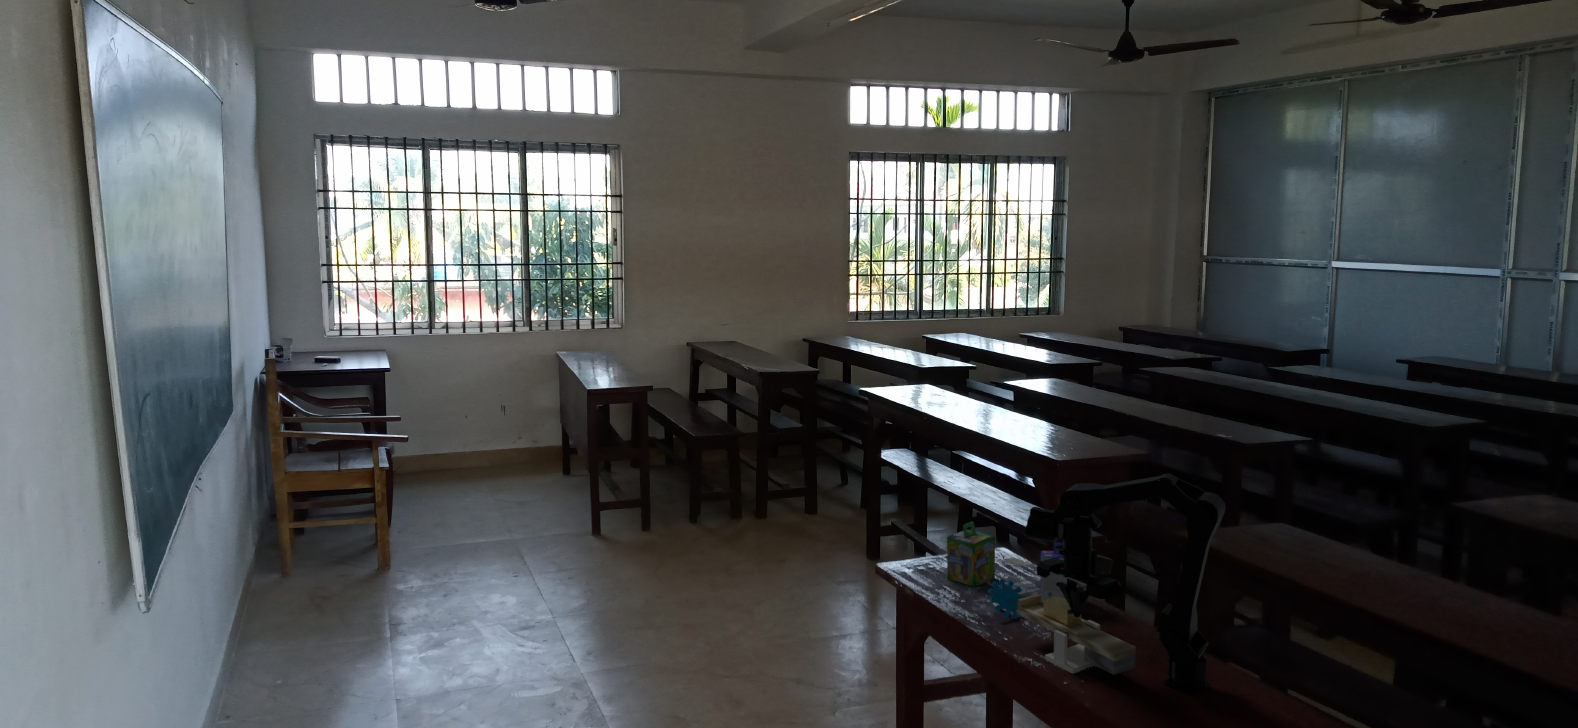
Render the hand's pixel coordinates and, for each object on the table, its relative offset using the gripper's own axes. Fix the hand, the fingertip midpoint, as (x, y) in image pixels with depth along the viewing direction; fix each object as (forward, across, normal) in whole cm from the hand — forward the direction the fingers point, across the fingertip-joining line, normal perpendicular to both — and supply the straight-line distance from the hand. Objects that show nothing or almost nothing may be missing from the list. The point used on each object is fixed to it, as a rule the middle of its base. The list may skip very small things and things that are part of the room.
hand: (1077, 616), depth 215 cm
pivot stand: (+10, 0, 0) cm, 10 cm away
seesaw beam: (+7, +1, 0) cm, 7 cm away
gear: (+10, +27, -5) cm, 29 cm away
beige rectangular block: (+2, +5, 0) cm, 5 cm away
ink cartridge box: (+10, +25, -20) cm, 34 cm away
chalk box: (+9, +49, -12) cm, 51 cm away
